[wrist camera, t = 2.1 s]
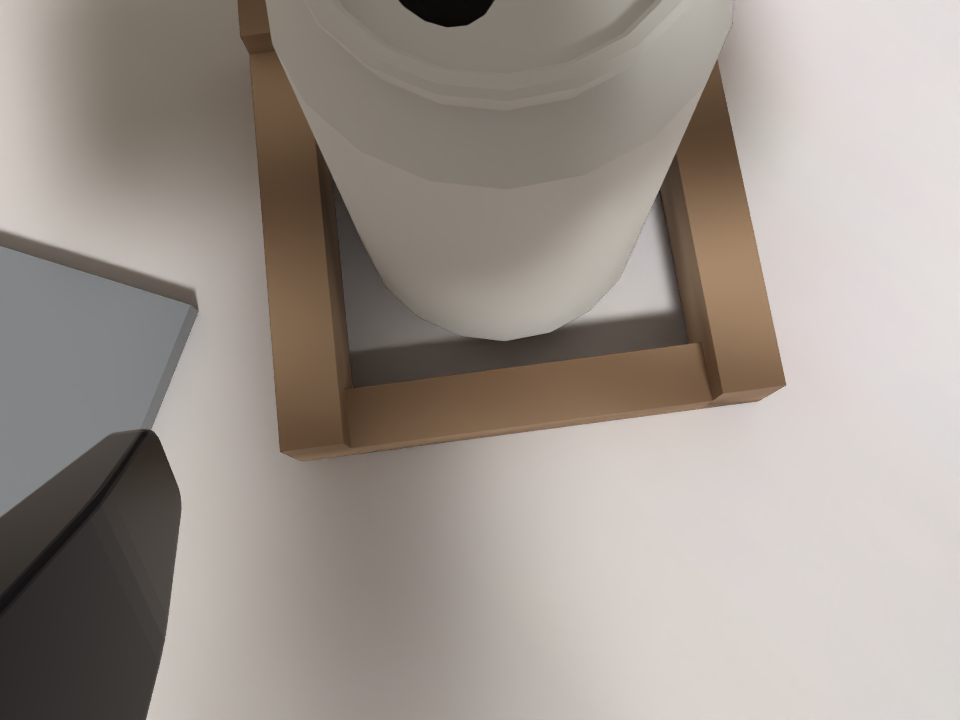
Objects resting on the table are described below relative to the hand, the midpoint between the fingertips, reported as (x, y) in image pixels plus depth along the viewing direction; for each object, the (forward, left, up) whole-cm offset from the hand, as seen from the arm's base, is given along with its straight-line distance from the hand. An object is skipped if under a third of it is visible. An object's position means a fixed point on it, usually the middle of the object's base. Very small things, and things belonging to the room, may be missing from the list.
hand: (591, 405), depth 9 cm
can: (+7, +3, -13) cm, 15 cm away
